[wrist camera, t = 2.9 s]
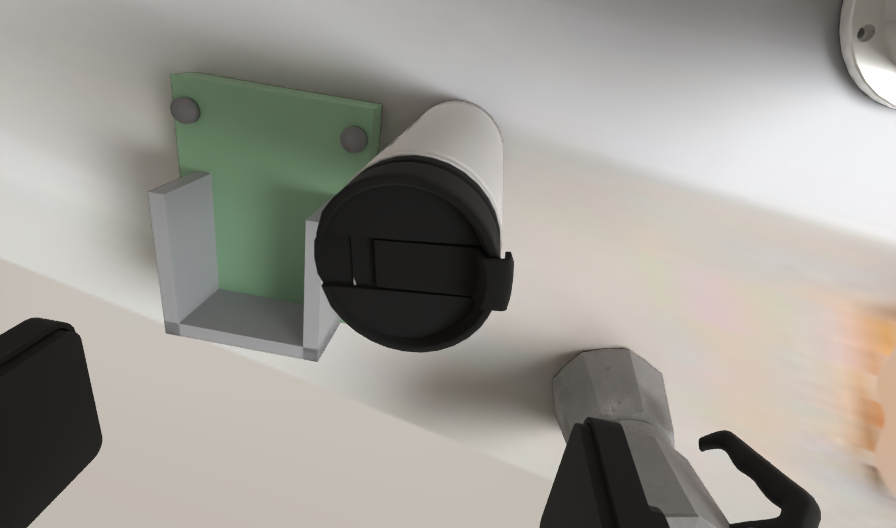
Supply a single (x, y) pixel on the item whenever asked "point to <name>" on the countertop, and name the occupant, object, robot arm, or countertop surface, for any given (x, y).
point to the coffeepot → (667, 442)
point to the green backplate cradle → (254, 210)
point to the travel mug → (421, 234)
